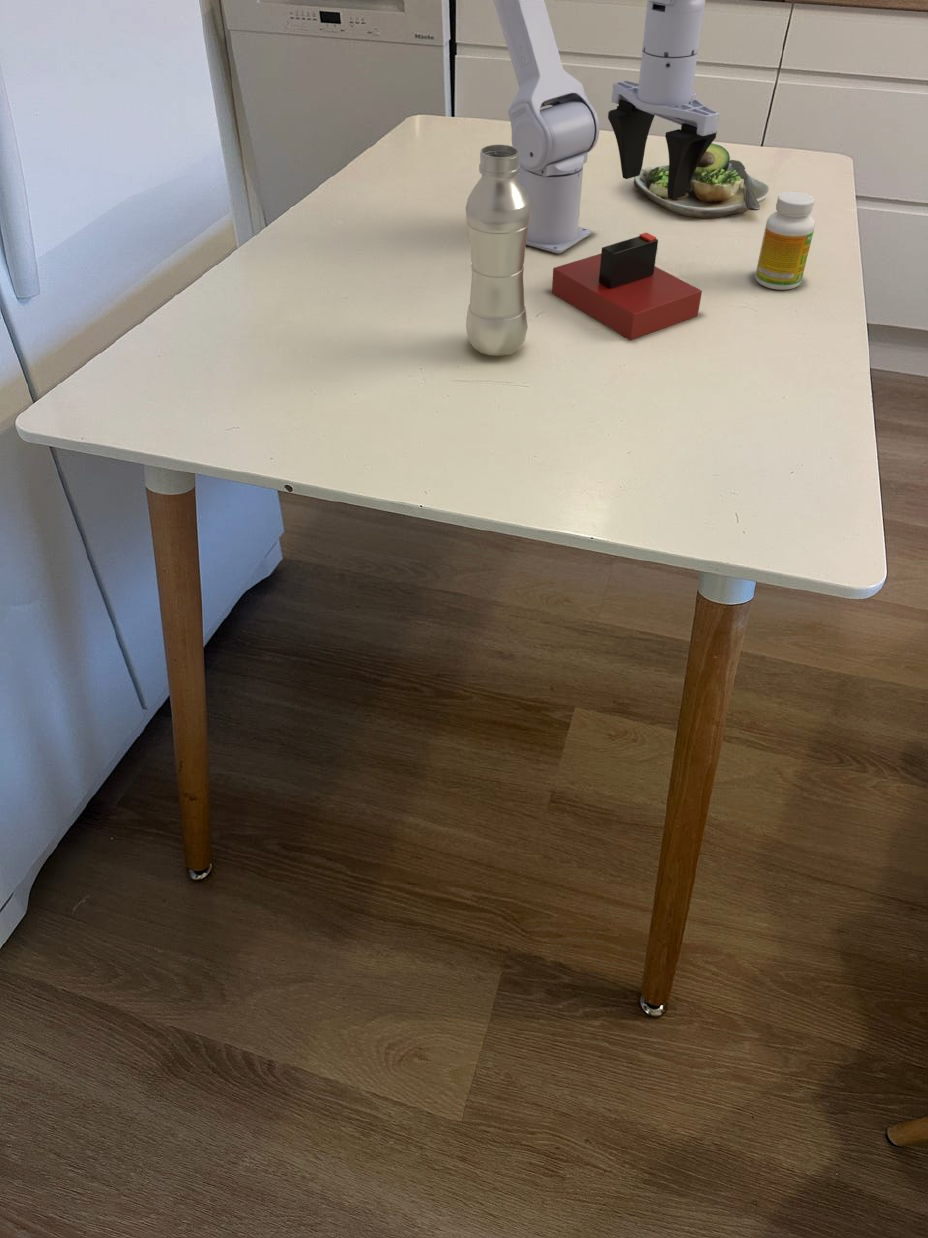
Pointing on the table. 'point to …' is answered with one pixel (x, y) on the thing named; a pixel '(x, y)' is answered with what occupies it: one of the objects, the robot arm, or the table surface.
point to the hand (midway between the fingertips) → (653, 186)
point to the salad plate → (706, 187)
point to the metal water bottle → (497, 253)
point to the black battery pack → (628, 260)
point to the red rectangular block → (627, 298)
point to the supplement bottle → (786, 242)
